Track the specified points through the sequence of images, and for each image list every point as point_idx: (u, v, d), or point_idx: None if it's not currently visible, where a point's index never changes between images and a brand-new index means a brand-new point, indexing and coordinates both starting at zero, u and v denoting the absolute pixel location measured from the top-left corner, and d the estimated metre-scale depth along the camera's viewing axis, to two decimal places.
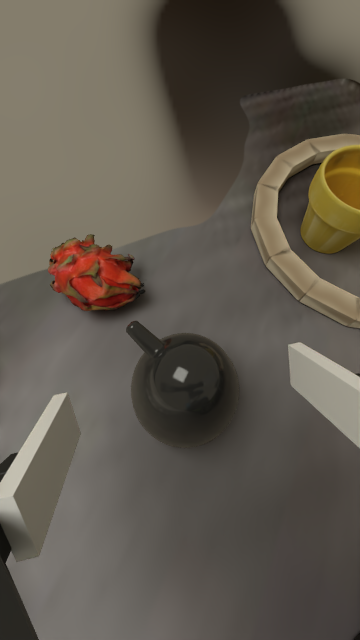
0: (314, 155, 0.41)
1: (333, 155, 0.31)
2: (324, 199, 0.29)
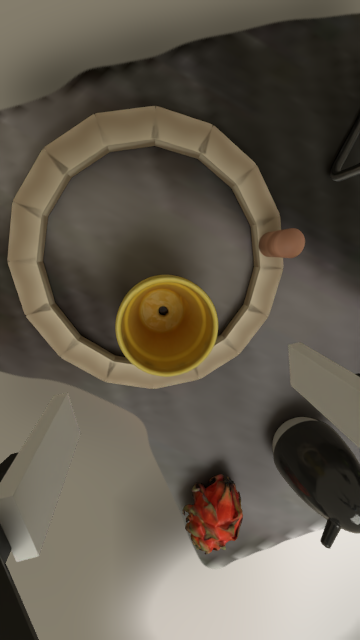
0: (53, 309, 0.32)
1: (132, 358, 0.27)
2: None
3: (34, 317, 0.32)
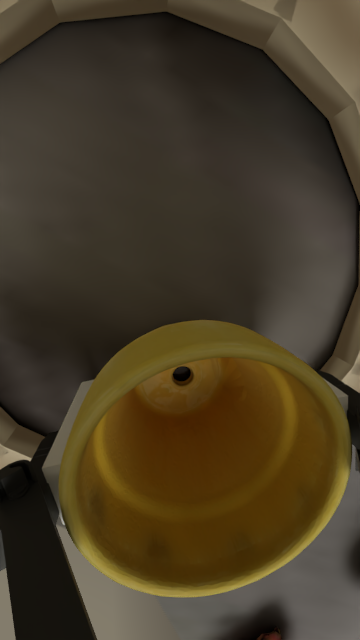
0: None
1: (114, 565, 0.09)
2: None
3: None
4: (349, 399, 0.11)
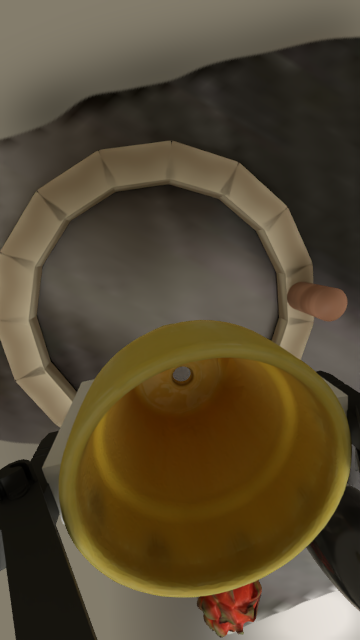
0: (48, 372, 0.28)
1: (114, 565, 0.09)
2: None
3: (26, 382, 0.27)
4: (349, 399, 0.11)
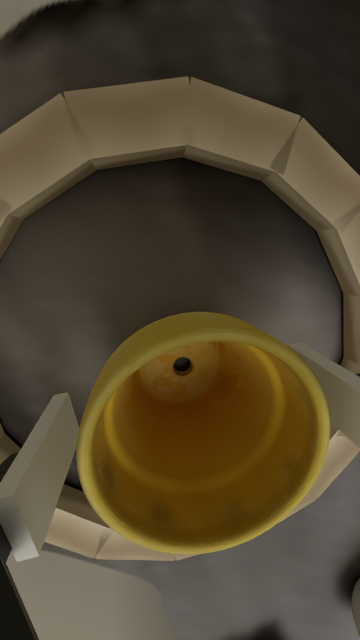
0: None
1: (123, 523, 0.11)
2: None
3: None
4: None
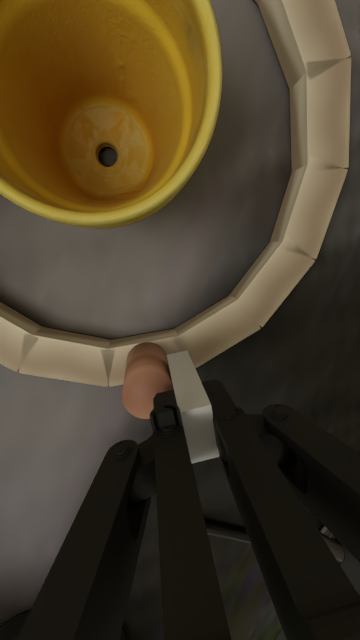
0: None
1: None
2: None
3: None
4: (220, 407, 0.12)
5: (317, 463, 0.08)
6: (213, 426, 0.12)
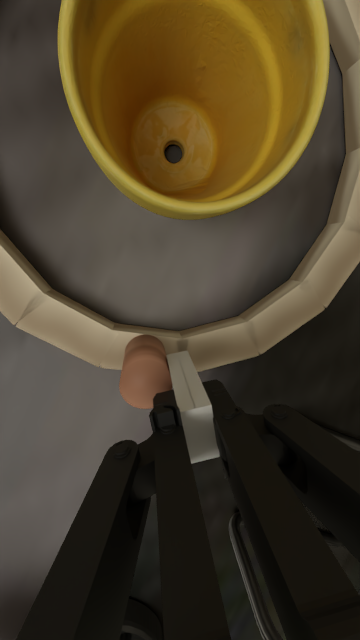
0: None
1: None
2: None
3: None
4: (221, 407, 0.12)
5: (317, 463, 0.08)
6: (213, 426, 0.12)
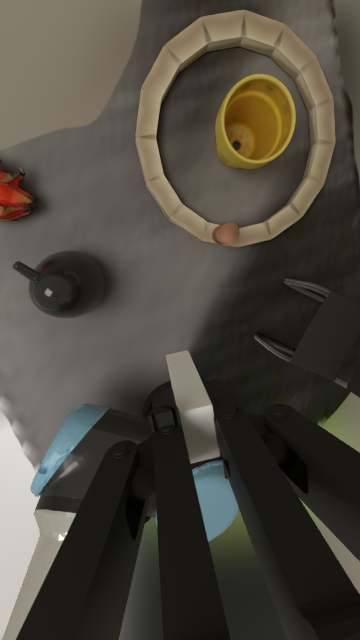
0: (238, 38, 0.39)
1: (239, 86, 0.34)
2: (221, 137, 0.36)
3: (240, 16, 0.38)
4: None
5: (318, 463, 0.08)
6: (214, 426, 0.12)
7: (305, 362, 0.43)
